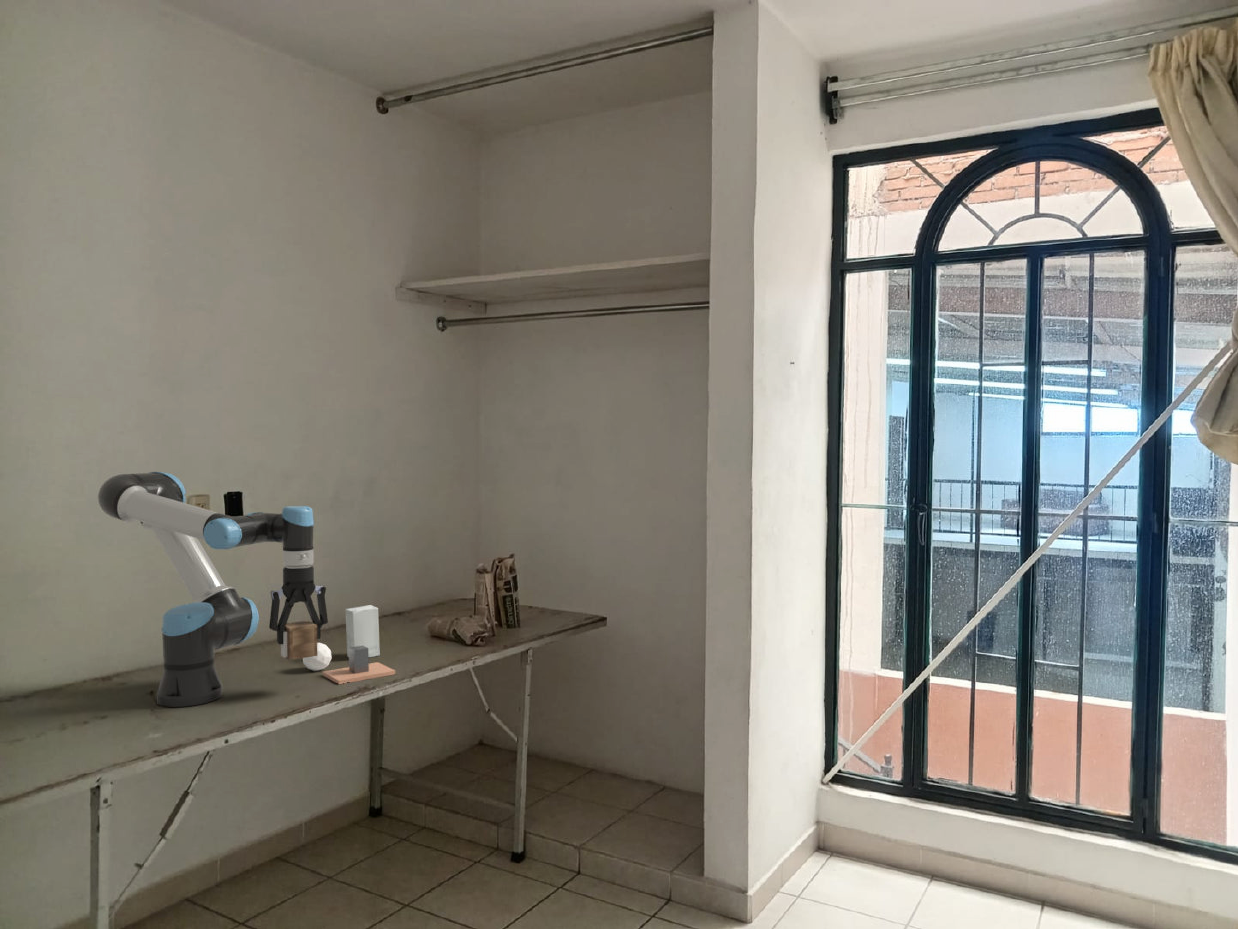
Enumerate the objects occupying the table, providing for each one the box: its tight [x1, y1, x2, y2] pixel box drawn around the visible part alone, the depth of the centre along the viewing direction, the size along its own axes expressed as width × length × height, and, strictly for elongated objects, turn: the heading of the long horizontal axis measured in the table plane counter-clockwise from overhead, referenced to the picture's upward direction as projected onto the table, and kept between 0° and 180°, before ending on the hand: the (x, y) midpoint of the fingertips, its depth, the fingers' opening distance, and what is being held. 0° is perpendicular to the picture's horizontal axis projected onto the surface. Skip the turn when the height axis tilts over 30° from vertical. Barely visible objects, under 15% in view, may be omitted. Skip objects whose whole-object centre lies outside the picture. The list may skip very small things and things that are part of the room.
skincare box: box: [344, 604, 381, 658], centre depth 271 cm, size 8×6×15 cm
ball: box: [302, 642, 332, 672], centre depth 256 cm, size 8×8×8 cm
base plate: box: [322, 662, 396, 685], centre depth 251 cm, size 16×12×1 cm
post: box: [348, 645, 370, 674], centre depth 250 cm, size 4×4×6 cm
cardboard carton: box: [284, 620, 318, 661], centre depth 234 cm, size 7×7×8 cm
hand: (299, 654), depth 234 cm, fingers closed on cardboard carton, 7 cm apart
